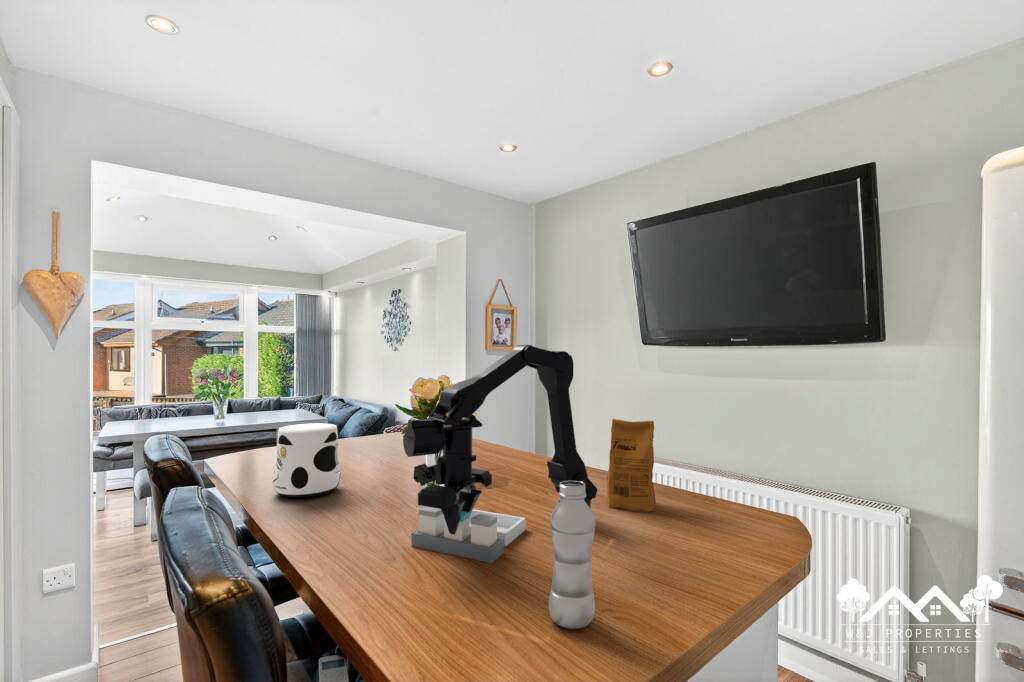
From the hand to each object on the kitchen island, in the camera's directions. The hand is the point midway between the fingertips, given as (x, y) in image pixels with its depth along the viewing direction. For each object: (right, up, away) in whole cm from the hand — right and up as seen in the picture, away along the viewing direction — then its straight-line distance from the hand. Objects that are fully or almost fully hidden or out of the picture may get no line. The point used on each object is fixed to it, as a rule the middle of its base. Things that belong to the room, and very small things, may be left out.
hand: (456, 531), depth 94 cm
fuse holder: (0, -4, 0) cm, 4 cm away
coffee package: (+41, -5, +29) cm, 51 cm away
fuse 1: (-5, -4, +2) cm, 7 cm away
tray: (+4, -4, +9) cm, 11 cm away
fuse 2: (+5, -4, -3) cm, 7 cm away
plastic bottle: (+19, -4, -25) cm, 32 cm away
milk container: (-46, -5, +39) cm, 60 cm away
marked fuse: (0, -4, 0) cm, 4 cm away
